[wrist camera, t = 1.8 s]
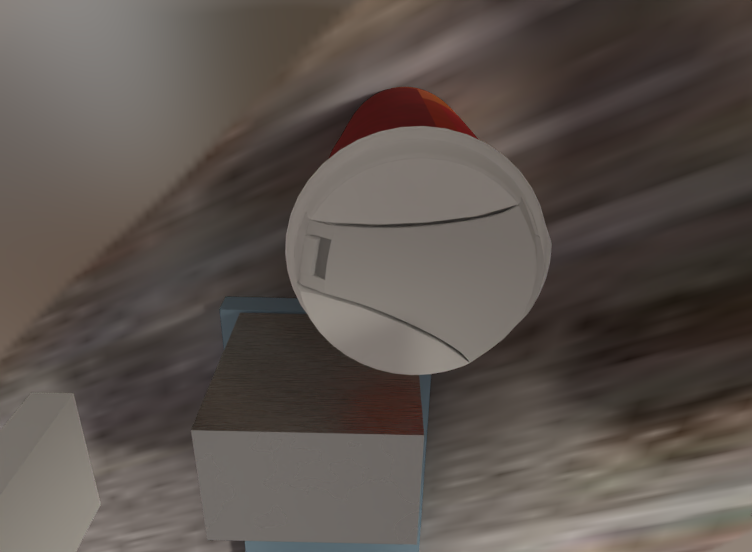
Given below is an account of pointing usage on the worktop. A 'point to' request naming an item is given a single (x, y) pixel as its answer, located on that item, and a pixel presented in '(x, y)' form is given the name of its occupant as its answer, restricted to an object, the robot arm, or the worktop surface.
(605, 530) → the worktop surface
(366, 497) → the block
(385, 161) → the coffee cup
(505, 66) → the worktop surface
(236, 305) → the base
